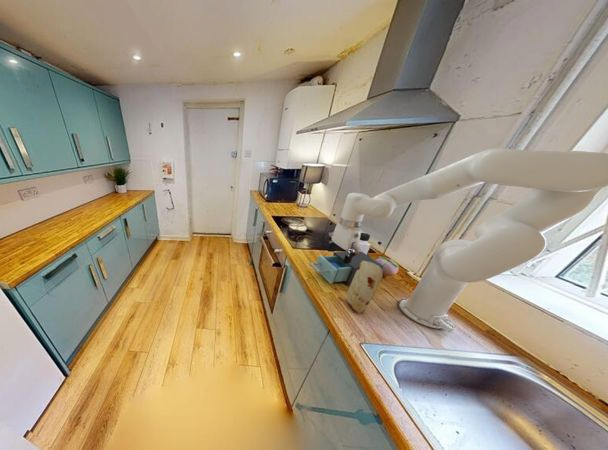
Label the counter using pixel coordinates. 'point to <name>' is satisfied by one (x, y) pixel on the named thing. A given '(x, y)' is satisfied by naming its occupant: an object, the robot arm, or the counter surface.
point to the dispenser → (355, 263)
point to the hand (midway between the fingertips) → (338, 256)
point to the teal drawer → (331, 268)
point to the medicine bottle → (364, 243)
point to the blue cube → (335, 265)
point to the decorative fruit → (388, 266)
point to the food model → (363, 285)
